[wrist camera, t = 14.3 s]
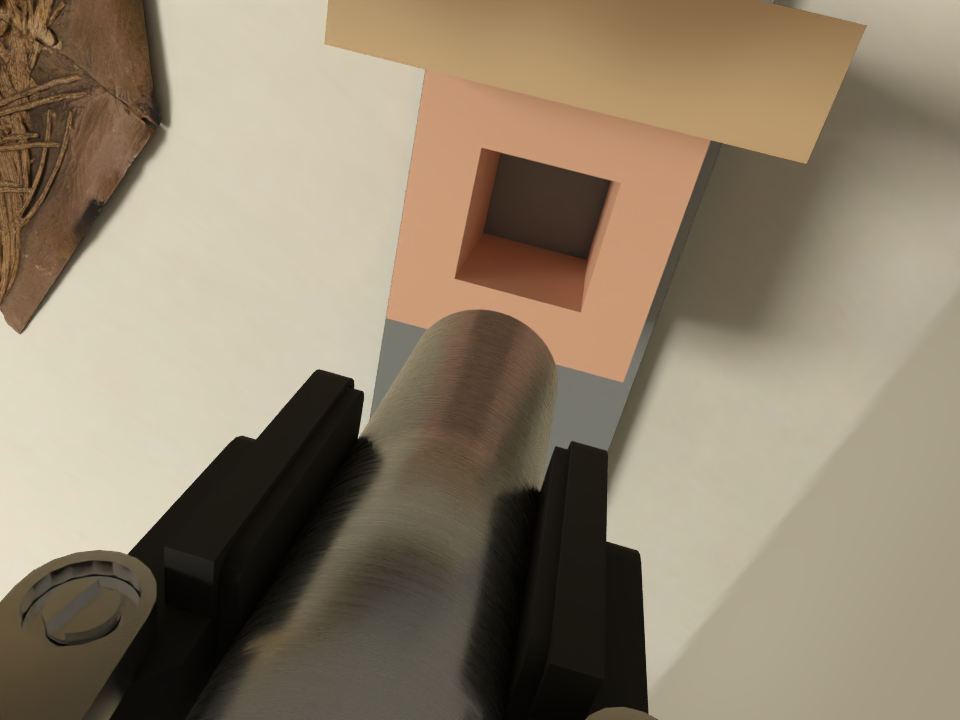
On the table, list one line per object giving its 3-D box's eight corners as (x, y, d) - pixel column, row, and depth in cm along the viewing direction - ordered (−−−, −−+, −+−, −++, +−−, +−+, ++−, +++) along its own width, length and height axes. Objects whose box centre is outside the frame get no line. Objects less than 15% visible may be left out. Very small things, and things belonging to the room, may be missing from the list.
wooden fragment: (-12, -283, 25) (-36, -295, 24) (243, -112, 26) (230, -117, 25) (-90, 261, 37) (-108, 267, 36) (88, 365, 38) (75, 374, 37)
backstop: (733, 111, 26) (806, 163, 16) (430, 37, 26) (324, 43, 17) (765, 25, 24) (866, 25, 15) (444, -51, 25) (337, -100, 15)
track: (584, 505, 36) (583, 517, 35) (370, 444, 37) (364, 454, 36) (776, -20, 24) (782, -22, 24) (457, -94, 25) (452, -99, 24)
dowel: (536, 458, 14) (309, 1716, 4) (400, 419, 14) (-193, 1515, 4) (576, 333, 13) (392, 1795, 2) (424, 291, 13) (-408, 1465, 2)
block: (621, 319, 30) (623, 382, 24) (425, 266, 30) (385, 318, 25) (693, 108, 26) (714, 129, 20) (465, 51, 26) (427, 58, 21)
